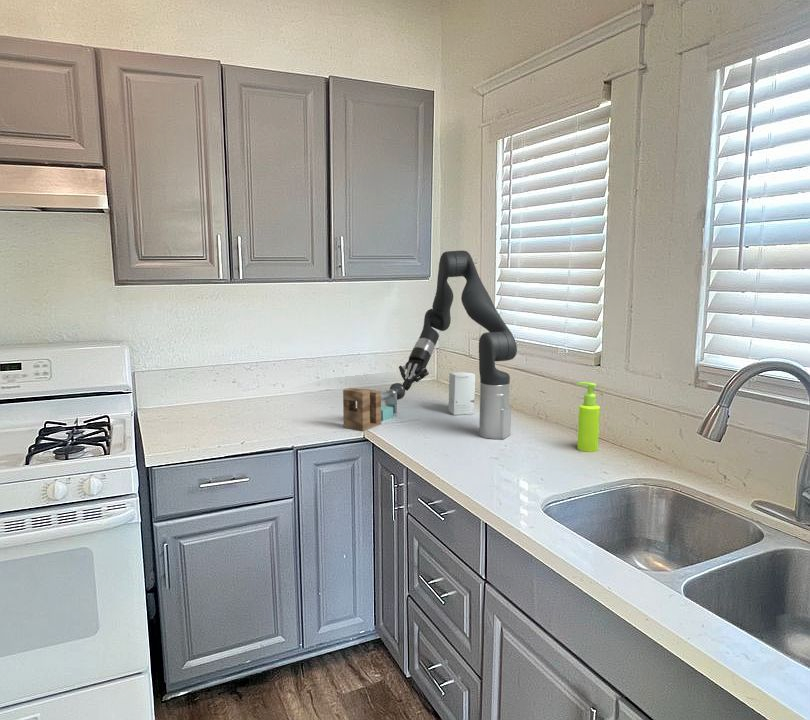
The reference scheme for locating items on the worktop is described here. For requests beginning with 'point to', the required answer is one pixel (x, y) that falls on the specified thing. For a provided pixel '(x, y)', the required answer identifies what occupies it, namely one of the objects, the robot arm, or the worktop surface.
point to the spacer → (386, 412)
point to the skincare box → (461, 393)
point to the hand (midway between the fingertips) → (404, 389)
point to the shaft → (392, 396)
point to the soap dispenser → (588, 421)
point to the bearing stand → (361, 408)
